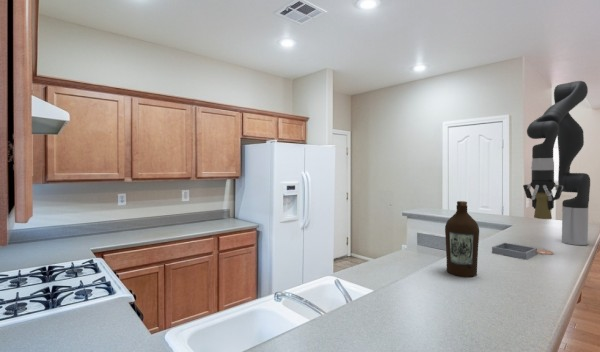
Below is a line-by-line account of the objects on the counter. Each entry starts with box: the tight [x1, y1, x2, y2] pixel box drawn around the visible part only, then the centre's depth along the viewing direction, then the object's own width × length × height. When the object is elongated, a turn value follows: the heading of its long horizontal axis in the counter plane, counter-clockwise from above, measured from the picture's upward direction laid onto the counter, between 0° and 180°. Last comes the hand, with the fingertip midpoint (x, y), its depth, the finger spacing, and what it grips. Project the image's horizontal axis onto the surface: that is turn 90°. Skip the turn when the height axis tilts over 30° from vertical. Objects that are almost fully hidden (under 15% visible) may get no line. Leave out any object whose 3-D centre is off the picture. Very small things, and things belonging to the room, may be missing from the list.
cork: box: [533, 192, 552, 220], centre depth 133 cm, size 6×6×11 cm
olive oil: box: [444, 200, 480, 278], centre depth 109 cm, size 11×11×25 cm
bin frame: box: [491, 242, 538, 260], centre depth 132 cm, size 12×12×2 cm
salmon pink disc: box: [537, 248, 554, 256], centre depth 133 cm, size 7×7×1 cm
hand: (542, 208), depth 133 cm, fingers closed on cork, 4 cm apart
